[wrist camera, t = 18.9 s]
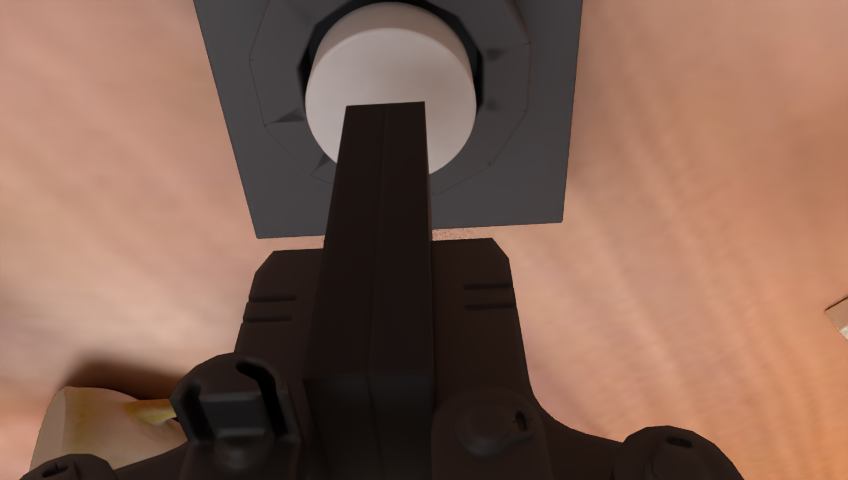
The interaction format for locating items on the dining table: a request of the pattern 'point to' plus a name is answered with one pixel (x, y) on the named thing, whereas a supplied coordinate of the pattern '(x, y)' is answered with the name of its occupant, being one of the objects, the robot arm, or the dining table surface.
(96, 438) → the mug
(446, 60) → the button
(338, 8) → the panel
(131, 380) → the dining table surface
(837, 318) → the bracket
